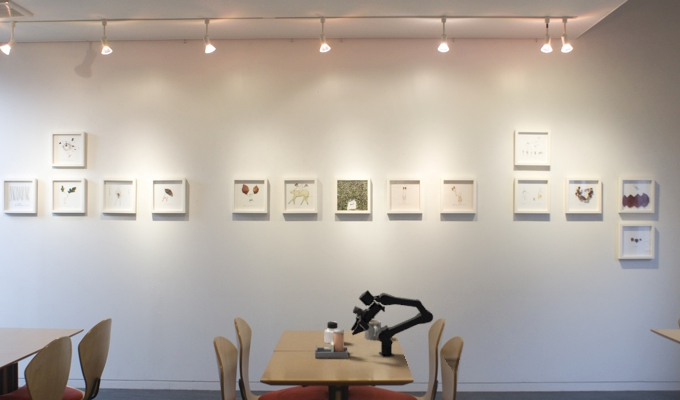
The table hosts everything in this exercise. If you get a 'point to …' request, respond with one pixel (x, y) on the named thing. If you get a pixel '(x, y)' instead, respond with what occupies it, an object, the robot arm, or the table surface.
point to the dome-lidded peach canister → (338, 340)
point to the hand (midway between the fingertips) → (351, 332)
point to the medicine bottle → (330, 332)
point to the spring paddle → (330, 347)
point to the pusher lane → (330, 353)
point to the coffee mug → (373, 330)
